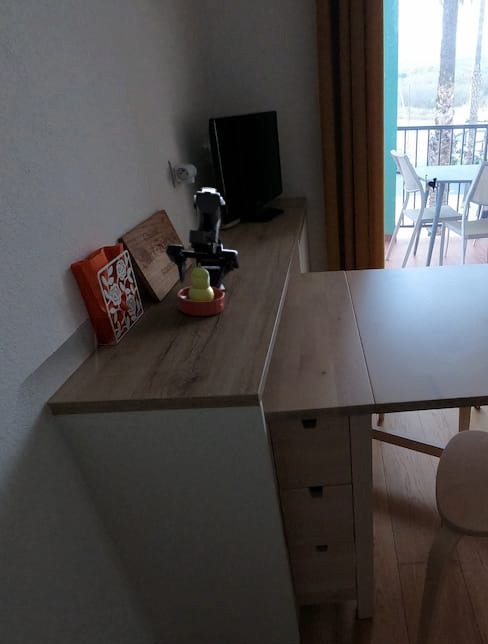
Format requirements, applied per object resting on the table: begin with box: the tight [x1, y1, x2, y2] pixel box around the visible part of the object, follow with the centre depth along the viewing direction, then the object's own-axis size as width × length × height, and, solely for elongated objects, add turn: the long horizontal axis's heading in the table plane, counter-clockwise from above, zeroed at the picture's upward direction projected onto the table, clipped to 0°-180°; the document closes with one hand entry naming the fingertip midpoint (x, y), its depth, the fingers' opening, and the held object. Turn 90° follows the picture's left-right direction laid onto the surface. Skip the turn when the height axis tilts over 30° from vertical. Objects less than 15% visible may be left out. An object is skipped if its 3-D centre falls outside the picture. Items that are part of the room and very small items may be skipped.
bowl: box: [176, 286, 226, 317], centre depth 127 cm, size 12×12×4 cm
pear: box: [189, 263, 214, 301], centre depth 125 cm, size 7×7×12 cm
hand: (199, 284), depth 124 cm, fingers open, 9 cm apart
